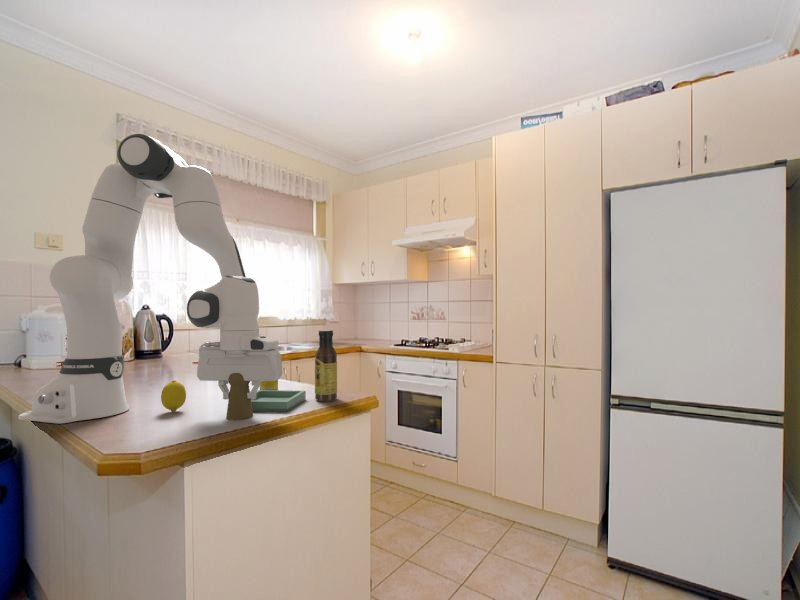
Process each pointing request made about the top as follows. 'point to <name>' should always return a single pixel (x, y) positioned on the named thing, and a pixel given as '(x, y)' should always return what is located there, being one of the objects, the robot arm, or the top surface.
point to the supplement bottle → (269, 385)
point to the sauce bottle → (325, 368)
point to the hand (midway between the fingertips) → (239, 399)
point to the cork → (238, 398)
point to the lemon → (173, 395)
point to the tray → (277, 400)
